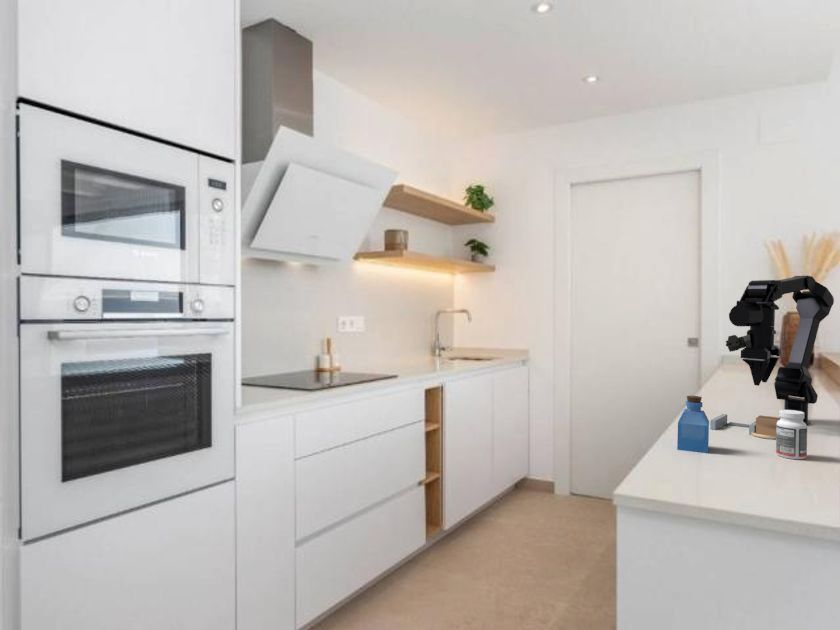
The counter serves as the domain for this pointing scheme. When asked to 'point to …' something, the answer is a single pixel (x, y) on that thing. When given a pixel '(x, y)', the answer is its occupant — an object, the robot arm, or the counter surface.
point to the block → (766, 425)
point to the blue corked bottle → (693, 427)
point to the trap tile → (738, 424)
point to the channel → (722, 420)
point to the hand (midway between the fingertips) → (760, 383)
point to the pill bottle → (791, 435)
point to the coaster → (763, 436)
